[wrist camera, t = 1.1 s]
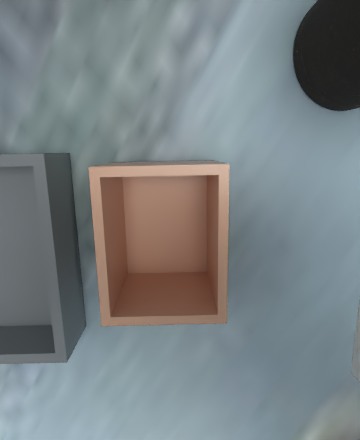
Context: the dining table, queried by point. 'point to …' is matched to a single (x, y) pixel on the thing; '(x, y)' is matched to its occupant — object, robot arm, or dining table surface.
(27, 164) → the grey tray
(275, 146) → the dining table surface
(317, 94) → the container
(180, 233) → the small crate
